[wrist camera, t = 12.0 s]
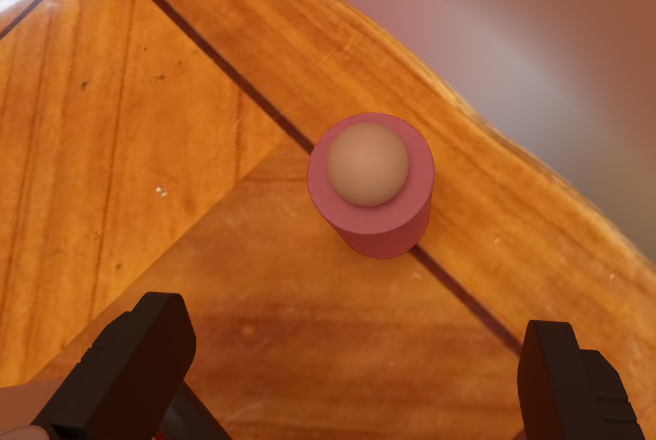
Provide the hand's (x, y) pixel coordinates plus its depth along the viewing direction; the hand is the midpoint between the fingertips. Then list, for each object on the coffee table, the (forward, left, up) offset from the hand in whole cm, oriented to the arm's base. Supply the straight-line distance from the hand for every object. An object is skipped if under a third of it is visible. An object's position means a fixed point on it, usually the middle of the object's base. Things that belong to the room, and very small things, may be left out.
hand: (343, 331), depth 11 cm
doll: (+3, -4, -10) cm, 11 cm away
